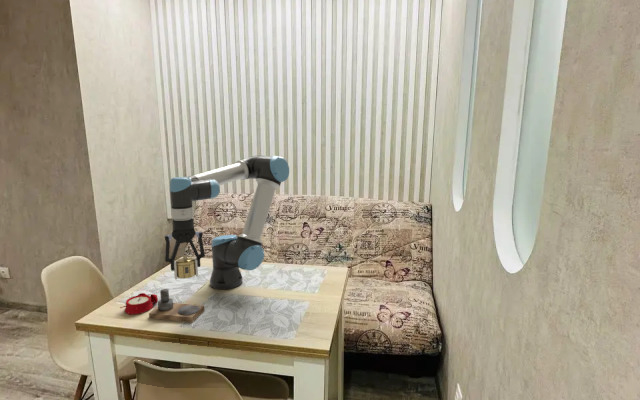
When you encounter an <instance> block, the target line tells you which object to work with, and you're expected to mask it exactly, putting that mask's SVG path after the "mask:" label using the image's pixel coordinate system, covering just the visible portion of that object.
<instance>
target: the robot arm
mask: <svg viewBox="0 0 640 400" xmlns="http://www.w3.org/2000/svg"><path fill="white" fill-rule="evenodd" d="M289 176H290V166H289V163H288V161H287V159H285V158H284V156H283V157H282V156H278V155H262V154H261V155H260V154H259V155H253V156H250V157H246V158H243V159H240V160H239V159H238V160H236V161H235V163H233V164H230V165H226V166H222V167H218V168H215V169H212V170H208V171H204V172H201V173H197V174H193V175H189V176H175V177H172V178H171V179H170V180H169V194H170V195H169V196H170V207H171V219H172V232H171V233H170V234H165V235H164V240H165V251H164V261H165V262H166V263H169V265H170V270H171V271H173V272H174V274H173V275H174V280H178V277H177V267H176V260H175V259H176V257H177V254H178V251H179V248H180V245H181V244H184V243H186V244H188V243H189V245H190V247H191V249H192V252H193V253H194V255H195V257H193V258H194V259H195V271H196V274H195V276H196V277H198V276H199V268H200V267H201V259H202V258H205V257H206V255H205V254H206V253H205V249H204V244H203V243H204V242H203V235H204V234H203V232H202V231H196V230H195V226H194V225H195V222H194V218H193V217H194V209H193V207H194V206H193V204H194V202H197V201H203V200H204V201H205V200H212V199H215V198H217V197H218V196H219V194H220V191H221V190H220V187H221V186H223V185H225V184H229V183H231V182H234V181H238V180H241V181H245V180H251V179H252V180H255V182H256V183H257V185H256V189H255V191H254V196H253V199H252V202H251V204H250V207H249V211H248V214H247V218H246V221H245V223H244V227H243V230H242V233H240V234H238V235H236V234H225V235H220V236H219V235H218V236H216V237H214V238H213V239H211V253H212V271H211V275H210V279H209V286H210V287H211V288H213V289H215V290H227V289H233V288H237V287H240V285H242V284H243V281H244V280H243V276H242V272H241V271H240V270H244V271H254V270H255V269H257V268H260V266H261V265H262V263H263V260H264V258H265V252H264V251H265V249H264V248H263V247H262V246H263V241H262V235H263V232H264V228H265V224H266V222H267V218H268V215H269V212H270V209H271V205H272V203H273V199H274V196H275V192H276V190H277V189H279V188H280V187H281V183H283V182H286V181H287V179H288V178H289ZM195 235H196V238H197V241H198V248H199V251H200V252H198V251H197V250H198V249H197V247H196V246H195V244H194V242H193V239H194V237H195ZM172 238H173V239H174V240H175V242H174V243H175V244H174V247H173V248H172V249H173V250H172V254H171V257H170V247H171V245H170V244H171V243H170V242H171V240H172Z"/></svg>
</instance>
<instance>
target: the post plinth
mask: <svg viewBox="0 0 640 400" xmlns="http://www.w3.org/2000/svg"><path fill="white" fill-rule="evenodd" d="M159 292H160V299H158V302H157V306H156V307H155V308H153V309H152V311H149V312H148V319H153V320H155V319H156V320H165V321H175V322H176V321H177V322H185V323H193V322H194V321H195V320H196V319H197V318H198V317H199V316H200V315H201V314H202V313H203V312H204V311H205V309H206V308H205V305H201V304H192V303H191V304H190V303H182V302H174V300H173V298H171V297H170V296H169V295H170V293H169V289H168V288H162V289H160V290H159Z"/></svg>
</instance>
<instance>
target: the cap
mask: <svg viewBox="0 0 640 400" xmlns="http://www.w3.org/2000/svg"><path fill="white" fill-rule="evenodd" d="M194 258H195V257H188V255H186V254H184V255H182V257H181V258H178V259H177V260H175V261H176V267H177V279H190V278H192V277H193V278H194V277H195V276H196V275H195V274H196V271H195V259H194Z"/></svg>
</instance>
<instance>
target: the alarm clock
mask: <svg viewBox="0 0 640 400" xmlns="http://www.w3.org/2000/svg"><path fill="white" fill-rule="evenodd" d="M158 301H159V299H158V295H157V294H155V293H154V294H153V293H150V294H146V293H144V292H141V293H139V294H137V295H134V296H131V297H129V298H128V299H127V300H126V301H125V305H124V306H120V307H119V308H120V309H122V308H124V313H126V314H128V315H129V316H132V315H139V314H144V313H147V312H150V310H153V309H154V308H153V307H154V304H158Z"/></svg>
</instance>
